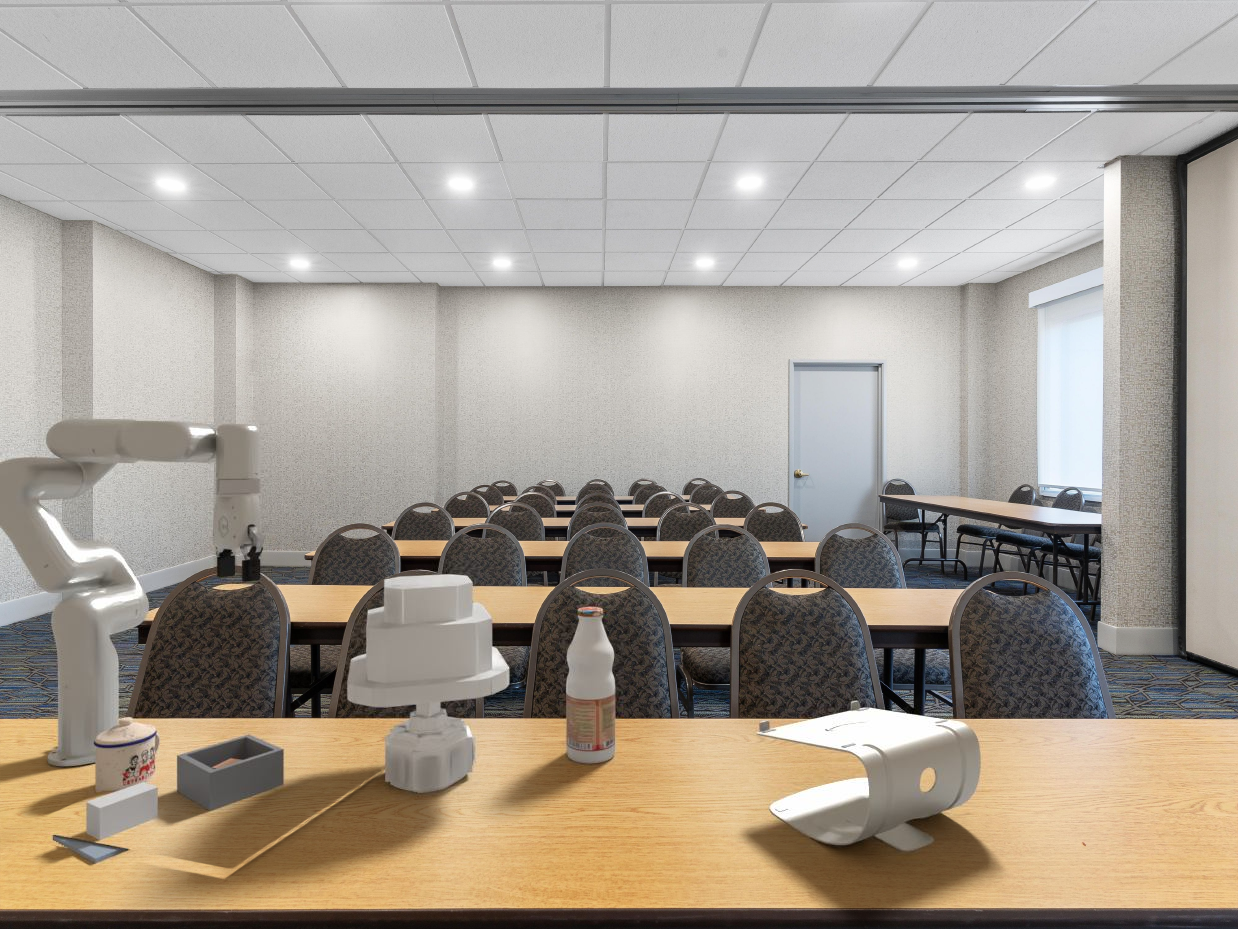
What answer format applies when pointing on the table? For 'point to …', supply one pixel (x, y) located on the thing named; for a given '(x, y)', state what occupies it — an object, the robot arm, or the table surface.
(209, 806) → the storage box
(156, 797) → the lid
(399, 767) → the white tiered tall piece
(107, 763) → the teacup with lid
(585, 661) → the fruit juice
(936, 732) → the portable electronic device stand
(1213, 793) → the table surface
